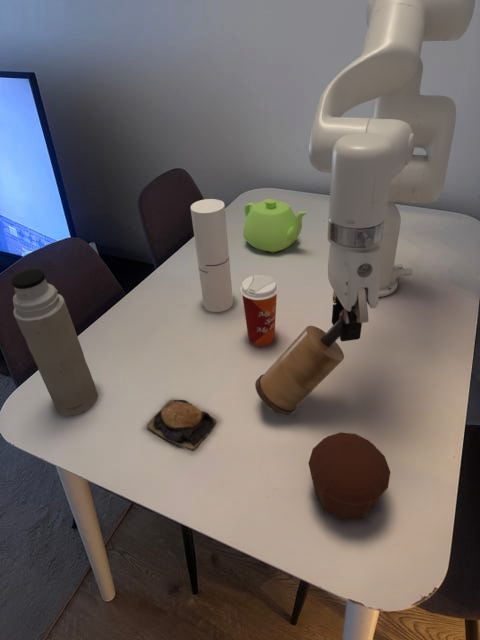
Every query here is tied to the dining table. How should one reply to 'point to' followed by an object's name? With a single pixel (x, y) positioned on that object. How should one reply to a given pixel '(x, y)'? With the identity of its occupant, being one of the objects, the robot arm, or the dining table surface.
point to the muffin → (348, 475)
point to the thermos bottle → (53, 342)
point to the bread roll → (182, 424)
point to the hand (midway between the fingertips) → (345, 330)
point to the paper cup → (260, 308)
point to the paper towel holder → (301, 368)
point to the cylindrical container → (212, 253)
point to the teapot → (271, 225)
